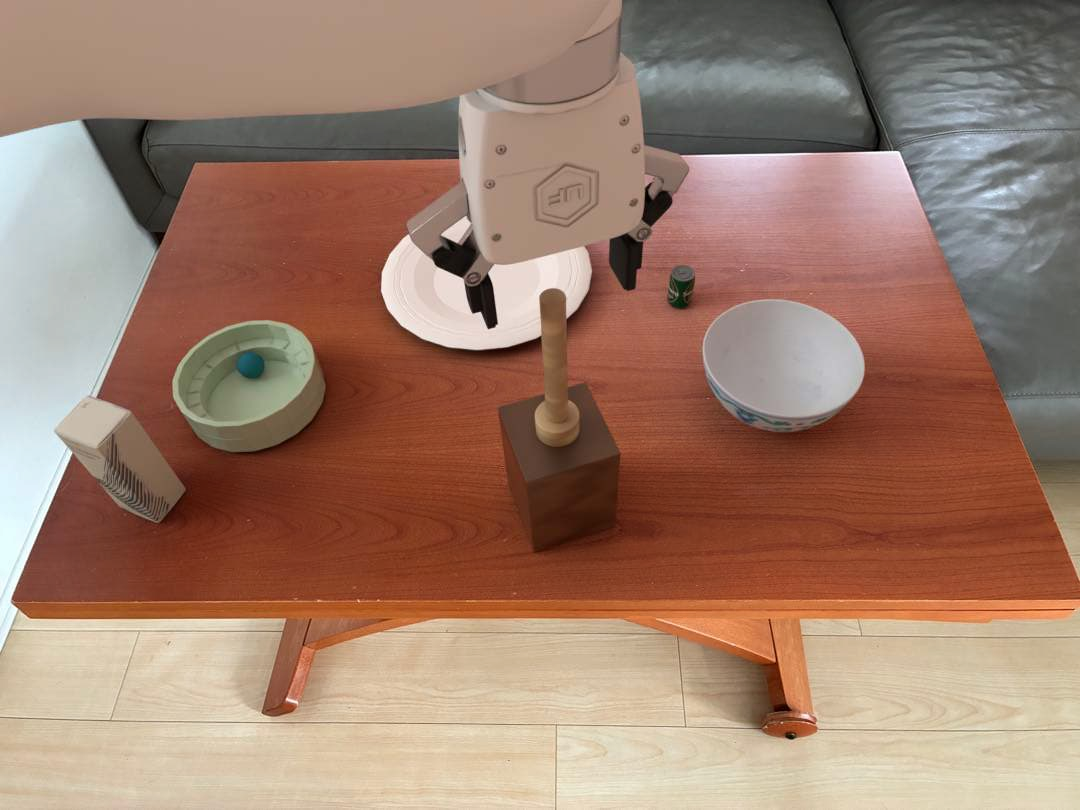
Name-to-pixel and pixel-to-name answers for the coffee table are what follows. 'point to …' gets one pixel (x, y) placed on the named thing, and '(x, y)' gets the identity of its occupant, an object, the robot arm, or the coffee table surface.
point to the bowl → (249, 386)
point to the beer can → (681, 286)
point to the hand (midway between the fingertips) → (555, 295)
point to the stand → (561, 472)
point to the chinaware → (781, 364)
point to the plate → (441, 303)
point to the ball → (250, 365)
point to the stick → (555, 374)
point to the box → (121, 457)
